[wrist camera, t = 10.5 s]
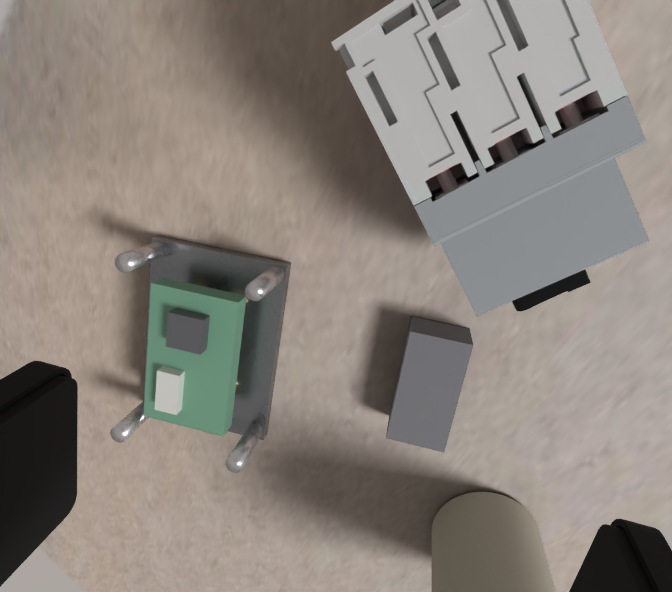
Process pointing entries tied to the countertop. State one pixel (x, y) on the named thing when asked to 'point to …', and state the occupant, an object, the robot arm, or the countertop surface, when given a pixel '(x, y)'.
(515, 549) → the travel mug
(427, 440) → the block
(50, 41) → the countertop surface
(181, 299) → the board
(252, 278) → the chassis
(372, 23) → the circuit breaker
